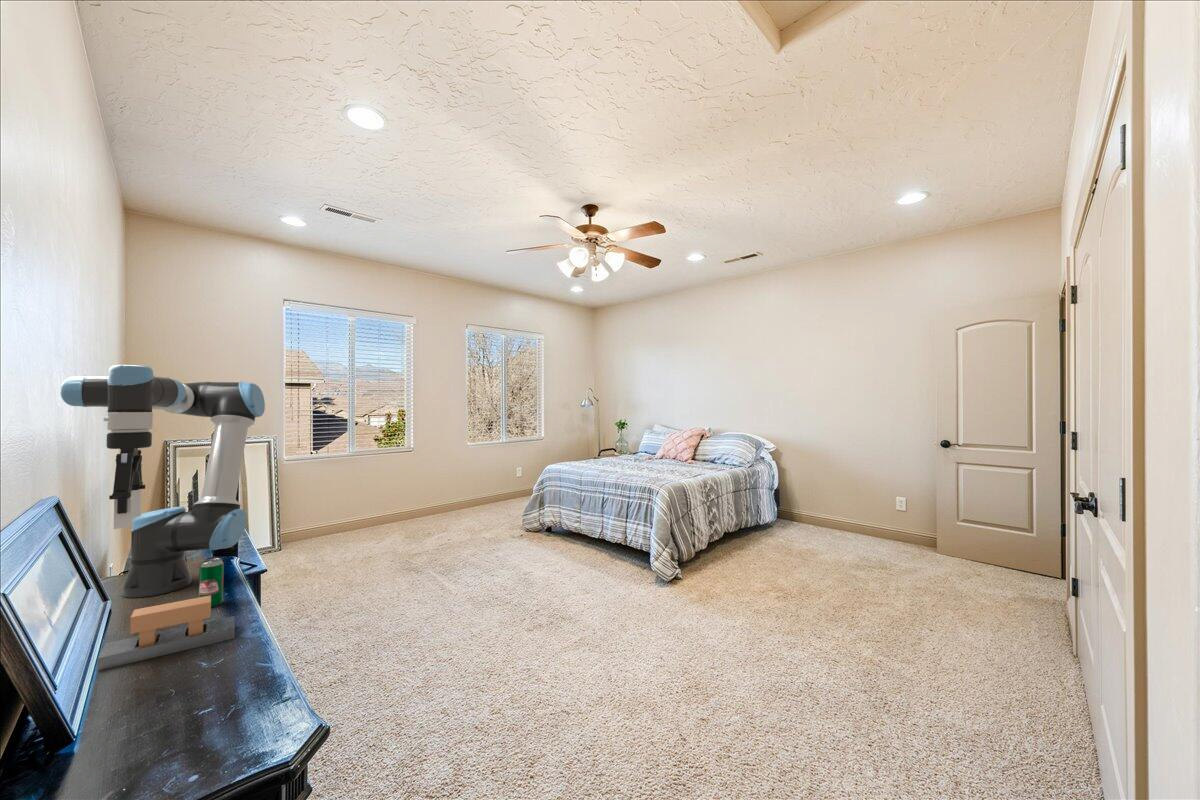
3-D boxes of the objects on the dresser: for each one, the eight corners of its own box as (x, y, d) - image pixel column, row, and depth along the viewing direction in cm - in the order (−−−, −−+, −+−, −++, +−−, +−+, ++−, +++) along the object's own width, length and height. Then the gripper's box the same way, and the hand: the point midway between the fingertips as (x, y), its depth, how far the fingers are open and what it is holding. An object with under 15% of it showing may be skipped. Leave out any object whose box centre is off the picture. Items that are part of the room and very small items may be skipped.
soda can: (195, 610, 125) (195, 564, 125) (204, 602, 130) (204, 558, 130) (218, 607, 127) (218, 562, 127) (226, 600, 131) (226, 557, 132)
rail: (105, 654, 102) (106, 643, 102) (234, 626, 115) (234, 615, 116) (97, 670, 96) (97, 658, 96) (234, 638, 109) (234, 627, 109)
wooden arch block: (133, 651, 104) (134, 609, 104) (210, 633, 112) (210, 595, 112) (129, 660, 100) (130, 617, 100) (209, 641, 108) (210, 602, 108)
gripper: (117, 430, 118) (115, 515, 118) (94, 433, 99) (92, 535, 98) (158, 429, 123) (156, 511, 122) (144, 432, 103) (142, 530, 103)
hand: (127, 522), depth 110 cm, fingers open, 13 cm apart
